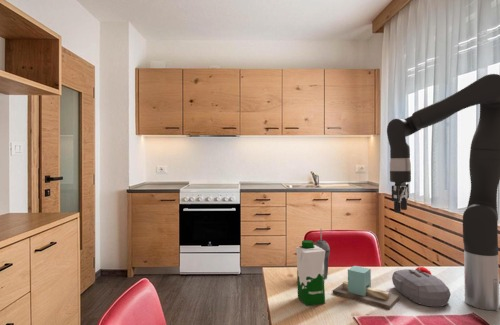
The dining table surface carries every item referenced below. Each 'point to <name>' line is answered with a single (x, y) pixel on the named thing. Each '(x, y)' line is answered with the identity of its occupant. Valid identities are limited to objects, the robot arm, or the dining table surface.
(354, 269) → the saddle block
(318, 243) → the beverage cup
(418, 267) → the cap
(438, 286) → the soft grey pack
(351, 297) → the cleat board
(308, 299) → the milk carton
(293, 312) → the dining table surface
